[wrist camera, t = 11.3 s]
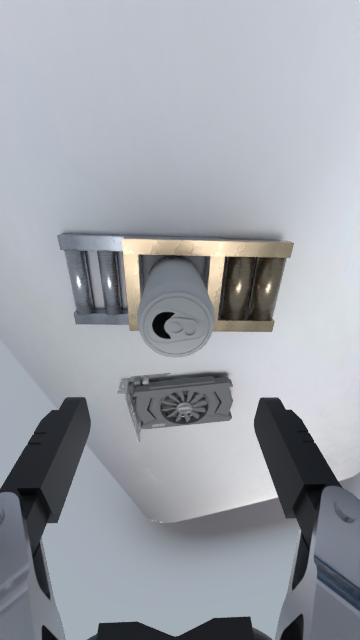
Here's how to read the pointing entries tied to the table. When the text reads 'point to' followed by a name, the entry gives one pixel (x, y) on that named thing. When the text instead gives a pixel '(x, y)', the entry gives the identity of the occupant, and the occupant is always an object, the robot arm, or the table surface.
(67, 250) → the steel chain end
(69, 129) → the table surface
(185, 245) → the frame
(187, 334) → the beverage can
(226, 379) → the graphics card
